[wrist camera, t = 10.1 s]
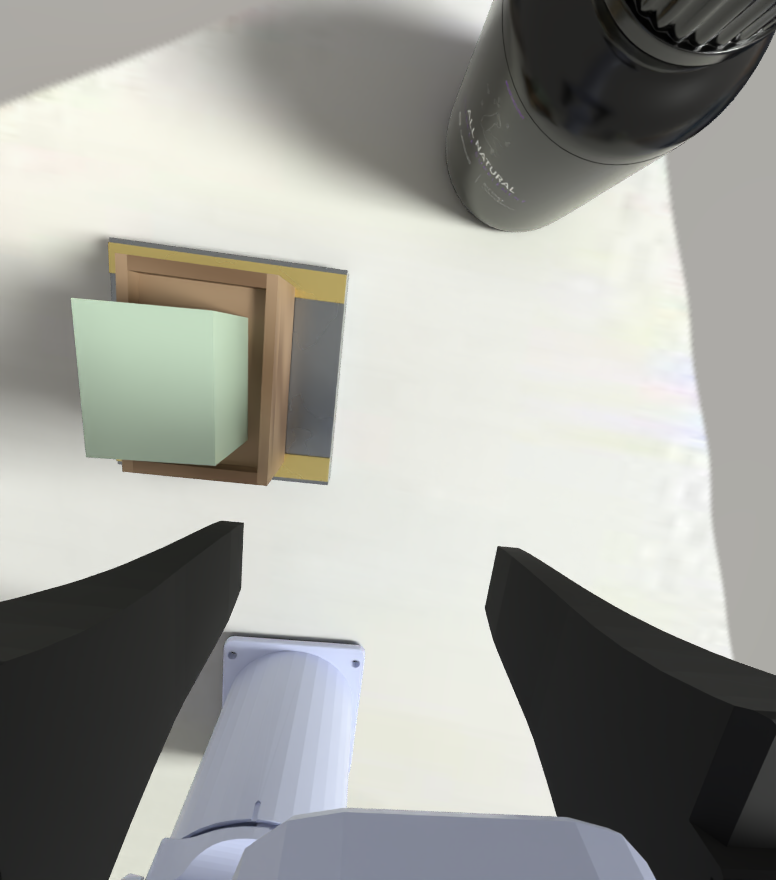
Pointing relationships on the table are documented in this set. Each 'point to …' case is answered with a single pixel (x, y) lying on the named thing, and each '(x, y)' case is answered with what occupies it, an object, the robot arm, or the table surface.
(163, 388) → the pale green block
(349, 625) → the table surface
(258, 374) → the open wooden box
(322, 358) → the dock
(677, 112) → the supplement bottle
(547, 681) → the robot arm
